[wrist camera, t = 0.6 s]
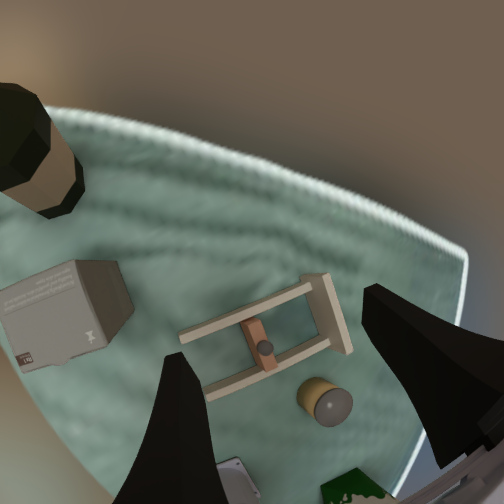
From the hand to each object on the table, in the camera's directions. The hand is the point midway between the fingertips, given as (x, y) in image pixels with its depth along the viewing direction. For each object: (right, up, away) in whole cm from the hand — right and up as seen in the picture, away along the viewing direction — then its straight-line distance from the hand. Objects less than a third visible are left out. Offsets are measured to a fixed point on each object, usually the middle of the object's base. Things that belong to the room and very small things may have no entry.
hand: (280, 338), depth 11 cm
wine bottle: (-25, +11, +20) cm, 34 cm away
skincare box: (-19, -3, +20) cm, 28 cm away
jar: (+7, -16, +26) cm, 32 cm away
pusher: (-1, -8, +25) cm, 26 cm away
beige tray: (-1, -8, +25) cm, 26 cm away
